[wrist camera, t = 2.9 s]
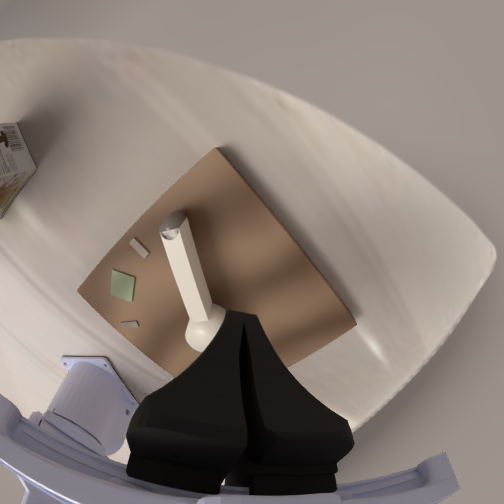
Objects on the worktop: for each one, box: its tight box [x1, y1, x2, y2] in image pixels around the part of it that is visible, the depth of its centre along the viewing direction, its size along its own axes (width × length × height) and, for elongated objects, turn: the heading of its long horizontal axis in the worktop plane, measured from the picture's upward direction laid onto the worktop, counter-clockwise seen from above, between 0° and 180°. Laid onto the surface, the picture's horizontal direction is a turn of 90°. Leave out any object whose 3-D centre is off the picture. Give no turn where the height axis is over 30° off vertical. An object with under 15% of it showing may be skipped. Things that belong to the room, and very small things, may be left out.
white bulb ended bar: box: [159, 210, 226, 352], centre depth 18 cm, size 10×3×2 cm, turn 11°
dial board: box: [77, 147, 357, 378], centre depth 22 cm, size 18×17×2 cm
